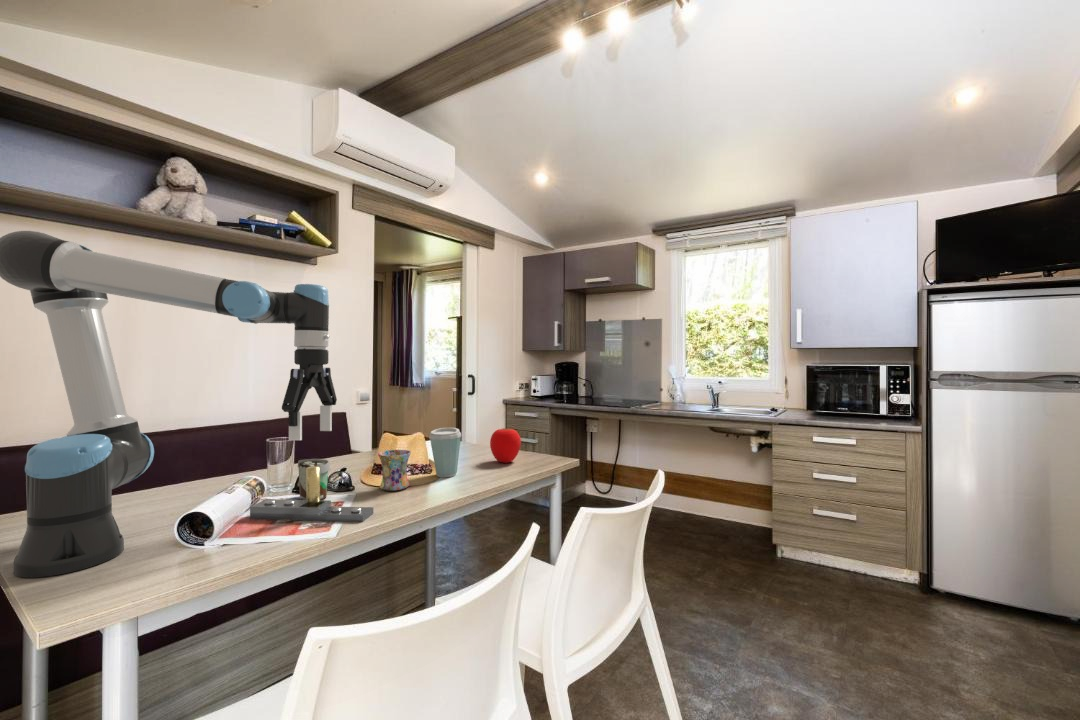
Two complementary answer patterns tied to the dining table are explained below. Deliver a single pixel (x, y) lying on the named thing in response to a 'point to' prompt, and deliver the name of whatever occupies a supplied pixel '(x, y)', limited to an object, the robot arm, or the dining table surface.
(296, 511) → the grey studded plate
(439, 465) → the disposable coffee cup
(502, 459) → the red apple
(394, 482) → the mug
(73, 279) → the robot arm
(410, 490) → the dining table surface
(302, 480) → the food container
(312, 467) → the pin
